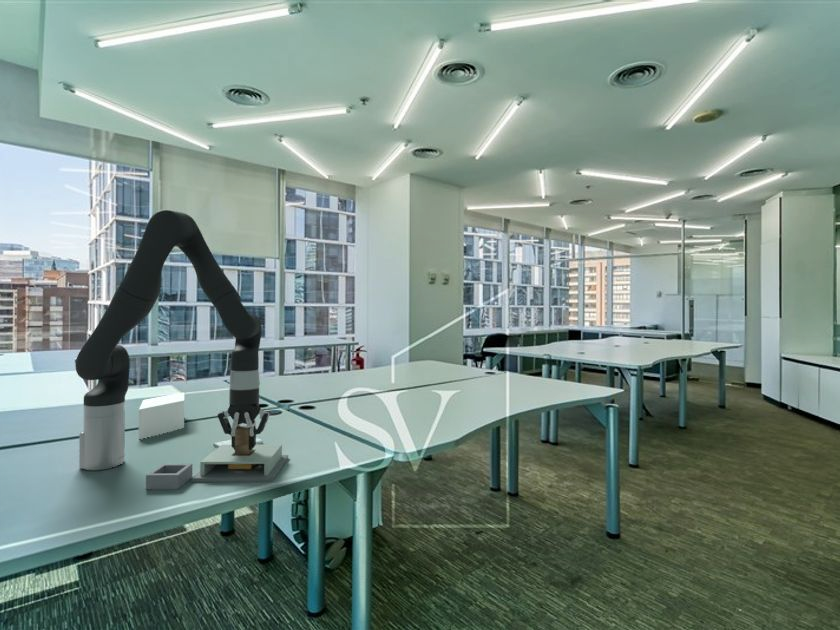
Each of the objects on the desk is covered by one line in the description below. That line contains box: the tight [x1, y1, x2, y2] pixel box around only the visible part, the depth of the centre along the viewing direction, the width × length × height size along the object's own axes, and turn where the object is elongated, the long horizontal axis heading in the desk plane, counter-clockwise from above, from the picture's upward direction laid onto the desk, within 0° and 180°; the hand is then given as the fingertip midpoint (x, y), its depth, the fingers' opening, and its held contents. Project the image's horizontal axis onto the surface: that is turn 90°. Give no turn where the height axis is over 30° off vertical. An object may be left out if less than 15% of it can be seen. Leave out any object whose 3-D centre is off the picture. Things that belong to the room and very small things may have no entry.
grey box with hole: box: [191, 443, 289, 483], centre depth 118 cm, size 20×17×5 cm
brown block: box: [235, 425, 252, 456], centre depth 118 cm, size 4×4×9 cm
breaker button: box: [228, 464, 255, 469], centre depth 118 cm, size 6×6×1 cm
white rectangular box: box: [138, 392, 185, 440], centre depth 156 cm, size 14×29×10 cm, turn 2°
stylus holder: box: [145, 463, 193, 490], centre depth 108 cm, size 8×8×4 cm
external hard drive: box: [213, 437, 264, 449], centre depth 139 cm, size 2×8×12 cm
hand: (243, 448), depth 118 cm, fingers closed on brown block, 3 cm apart
